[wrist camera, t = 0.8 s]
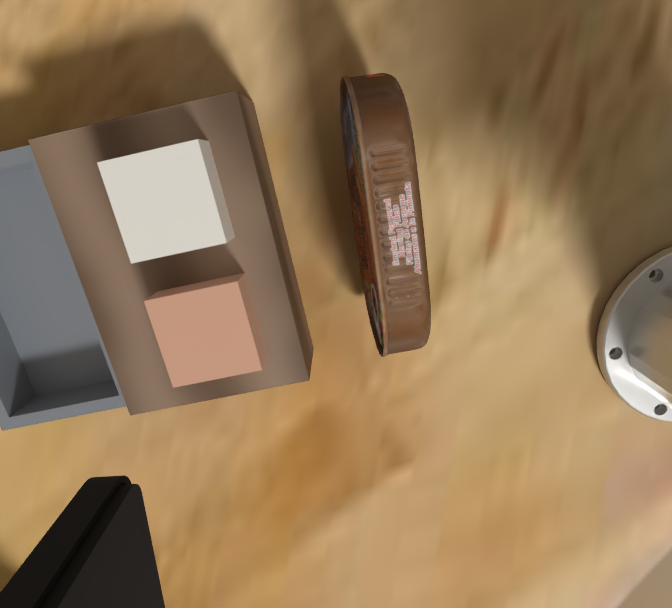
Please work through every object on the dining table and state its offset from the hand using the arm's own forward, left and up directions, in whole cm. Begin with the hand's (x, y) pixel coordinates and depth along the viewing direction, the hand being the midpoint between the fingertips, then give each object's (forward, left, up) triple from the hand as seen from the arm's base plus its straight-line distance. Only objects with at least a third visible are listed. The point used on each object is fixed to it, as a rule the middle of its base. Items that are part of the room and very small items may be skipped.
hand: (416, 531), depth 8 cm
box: (+20, -3, -24) cm, 31 cm away
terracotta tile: (+9, +1, -19) cm, 21 cm away
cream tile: (+9, -6, -19) cm, 22 cm away
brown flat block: (+10, -3, -24) cm, 26 cm away
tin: (-2, -3, -24) cm, 25 cm away
